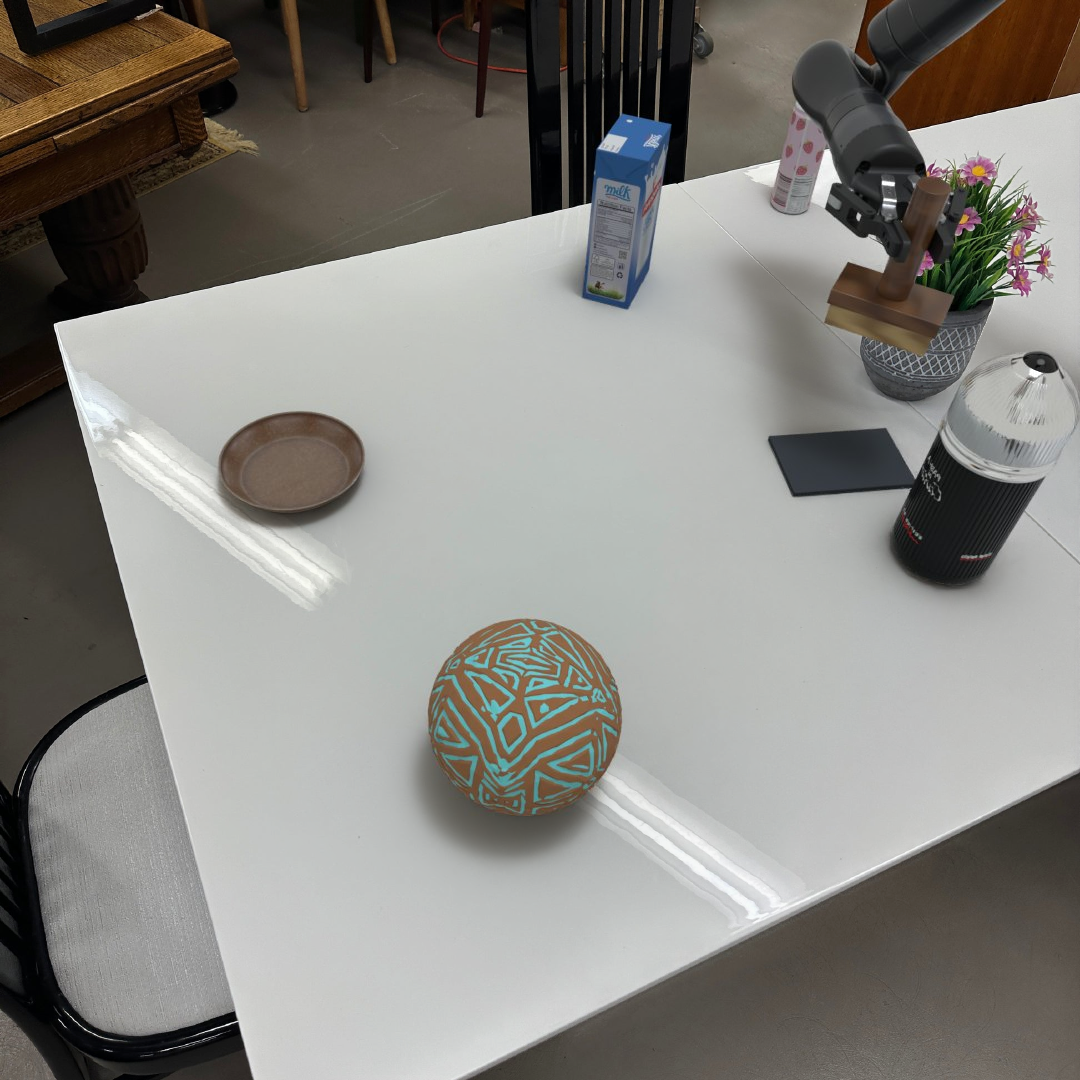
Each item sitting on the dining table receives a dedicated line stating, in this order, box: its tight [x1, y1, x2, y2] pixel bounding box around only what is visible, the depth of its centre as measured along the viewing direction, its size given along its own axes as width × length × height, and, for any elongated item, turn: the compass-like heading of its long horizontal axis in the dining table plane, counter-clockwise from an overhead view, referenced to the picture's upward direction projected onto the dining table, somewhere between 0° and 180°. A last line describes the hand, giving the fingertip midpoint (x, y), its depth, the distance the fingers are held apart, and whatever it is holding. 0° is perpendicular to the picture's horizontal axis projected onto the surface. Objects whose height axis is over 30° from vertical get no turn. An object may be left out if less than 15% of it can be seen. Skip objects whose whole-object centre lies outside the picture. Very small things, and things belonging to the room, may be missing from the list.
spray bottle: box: [890, 350, 1080, 586], centre depth 89 cm, size 10×10×25 cm
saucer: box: [217, 410, 366, 514], centre depth 100 cm, size 15×15×3 cm
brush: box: [823, 176, 955, 358], centre depth 90 cm, size 11×6×15 cm, turn 62°
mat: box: [767, 427, 916, 498], centre depth 106 cm, size 14×9×1 cm, turn 99°
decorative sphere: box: [427, 618, 623, 817], centre depth 75 cm, size 15×15×15 cm
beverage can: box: [770, 100, 827, 215], centre depth 137 cm, size 6×6×15 cm
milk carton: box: [582, 113, 672, 310], centre depth 120 cm, size 10×6×20 cm, turn 160°
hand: (924, 254), depth 86 cm, fingers closed on brush, 3 cm apart
